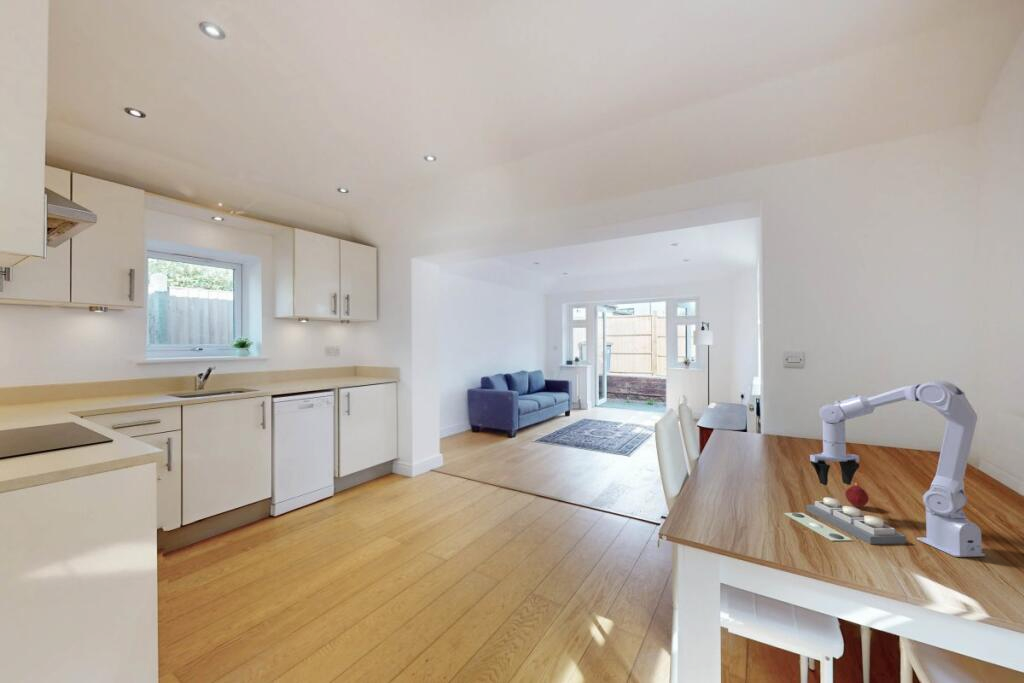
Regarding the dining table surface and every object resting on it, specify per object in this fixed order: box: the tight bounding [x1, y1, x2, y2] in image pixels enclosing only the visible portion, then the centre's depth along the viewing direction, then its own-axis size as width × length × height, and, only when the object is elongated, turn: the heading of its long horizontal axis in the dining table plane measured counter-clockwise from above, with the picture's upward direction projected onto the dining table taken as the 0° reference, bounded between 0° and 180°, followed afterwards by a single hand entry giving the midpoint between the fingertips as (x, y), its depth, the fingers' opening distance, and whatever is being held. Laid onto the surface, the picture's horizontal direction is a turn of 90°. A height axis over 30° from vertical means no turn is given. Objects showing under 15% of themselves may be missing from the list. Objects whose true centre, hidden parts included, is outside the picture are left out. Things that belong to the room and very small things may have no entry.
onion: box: [844, 482, 870, 509], centre depth 130 cm, size 6×6×8 cm
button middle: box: [843, 505, 861, 517], centre depth 117 cm, size 4×4×2 cm
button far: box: [822, 496, 841, 508], centre depth 124 cm, size 4×4×2 cm
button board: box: [806, 500, 907, 545], centre depth 117 cm, size 22×10×4 cm, turn 2°
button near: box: [864, 515, 885, 528], centre depth 110 cm, size 4×4×2 cm
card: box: [783, 512, 854, 542], centre depth 116 cm, size 18×6×1 cm, turn 2°
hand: (835, 483), depth 126 cm, fingers open, 7 cm apart
